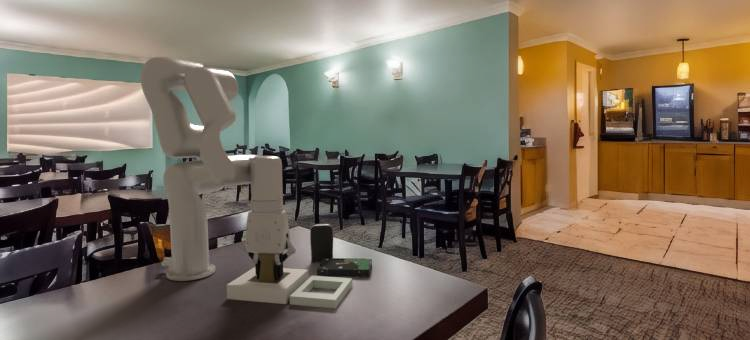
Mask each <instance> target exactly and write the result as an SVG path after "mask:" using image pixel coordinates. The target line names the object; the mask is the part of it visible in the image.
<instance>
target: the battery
mask: <svg viewBox="0 0 750 340" xmlns="http://www.w3.org/2000/svg"><path fill="white" fill-rule="evenodd" d="M309 236H310V237H309V241H310V255H311V257H310V260H311V262H313V263H321V261H322V259H323V258H334V229H333V227H332V225H331V224H330V223H315V224H312V225H311V227H310V232H309Z"/></svg>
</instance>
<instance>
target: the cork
mask: <svg viewBox="0 0 750 340" xmlns="http://www.w3.org/2000/svg"><path fill="white" fill-rule="evenodd" d="M258 257H259V260H260V261H261V264H260V275H259V282H262V283H275V284H278V283H279V282H280V281H281V278H280V279H279V280H278V281H275V279H274V265H275V264H276V262H275V255H274V254H265V253H258Z"/></svg>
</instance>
